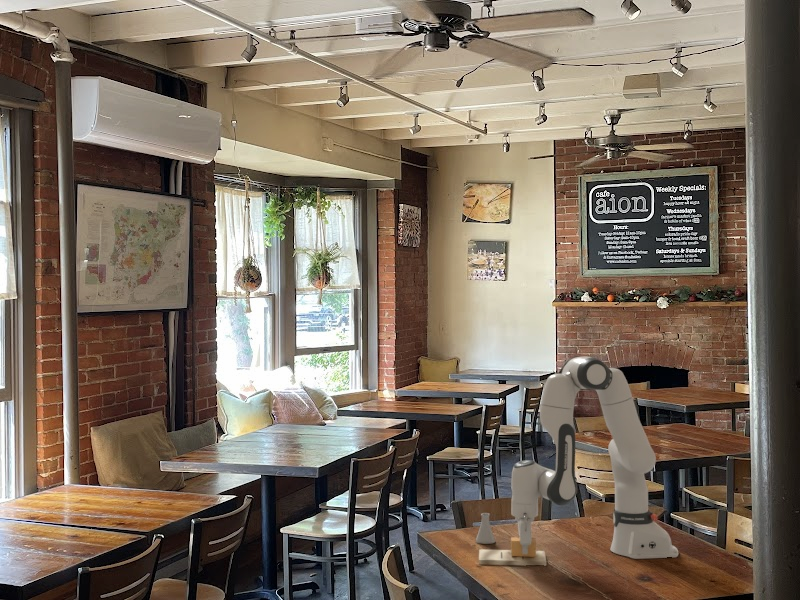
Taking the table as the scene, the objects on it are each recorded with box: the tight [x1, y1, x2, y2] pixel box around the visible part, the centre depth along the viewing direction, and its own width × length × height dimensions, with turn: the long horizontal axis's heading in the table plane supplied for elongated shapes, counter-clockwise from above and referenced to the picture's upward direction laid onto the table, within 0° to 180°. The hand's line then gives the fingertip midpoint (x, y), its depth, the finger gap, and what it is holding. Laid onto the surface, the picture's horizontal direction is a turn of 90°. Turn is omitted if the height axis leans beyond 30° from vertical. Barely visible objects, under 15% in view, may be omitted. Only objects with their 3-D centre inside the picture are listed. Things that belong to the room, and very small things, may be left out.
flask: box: [475, 512, 496, 545], centre depth 333 cm, size 7×7×10 cm
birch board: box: [478, 548, 548, 567], centre depth 311 cm, size 22×12×2 cm, turn 84°
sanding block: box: [510, 536, 537, 557], centre depth 311 cm, size 8×4×5 cm, turn 84°
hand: (524, 551), depth 311 cm, fingers closed on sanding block, 4 cm apart
